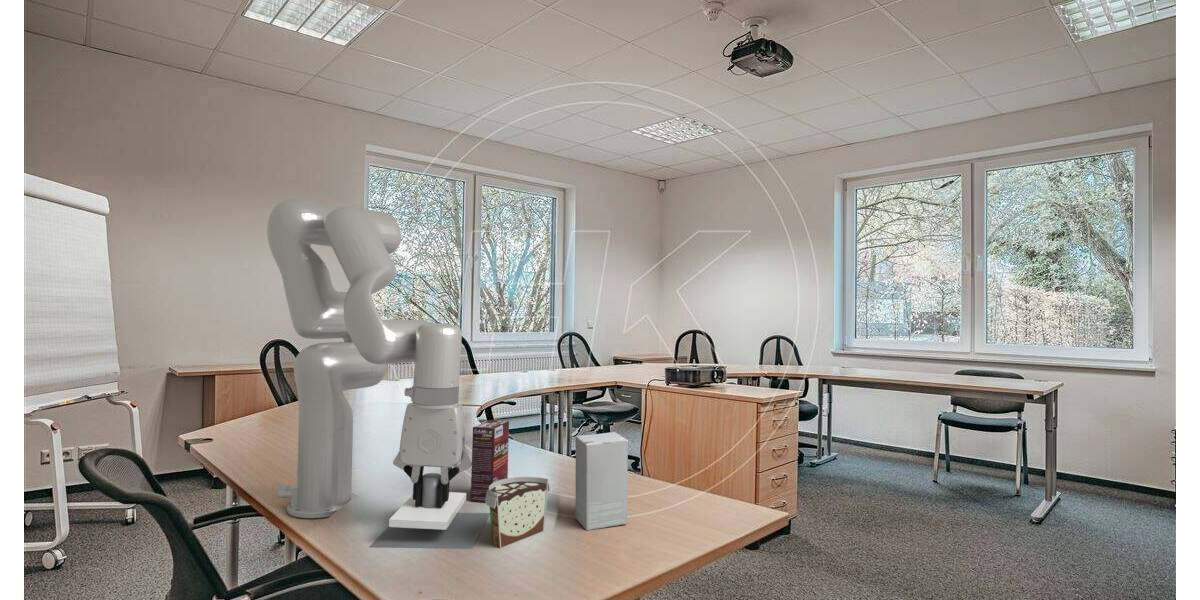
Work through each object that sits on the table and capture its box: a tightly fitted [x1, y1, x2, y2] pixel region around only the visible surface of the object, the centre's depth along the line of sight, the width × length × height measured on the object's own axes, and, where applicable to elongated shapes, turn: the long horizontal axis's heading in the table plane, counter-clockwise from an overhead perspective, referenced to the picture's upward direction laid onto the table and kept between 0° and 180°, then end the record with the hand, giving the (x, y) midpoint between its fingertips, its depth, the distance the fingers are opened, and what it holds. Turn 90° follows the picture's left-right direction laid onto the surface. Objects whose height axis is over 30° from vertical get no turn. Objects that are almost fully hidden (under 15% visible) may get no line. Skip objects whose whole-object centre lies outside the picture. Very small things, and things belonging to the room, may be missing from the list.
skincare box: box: [575, 431, 629, 531], centre depth 108 cm, size 8×7×16 cm
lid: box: [388, 472, 467, 530], centre depth 100 cm, size 9×14×6 cm, turn 0°
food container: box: [485, 476, 551, 549], centre depth 97 cm, size 12×6×10 cm, turn 141°
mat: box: [368, 512, 490, 550], centre depth 99 cm, size 16×16×2 cm
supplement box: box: [470, 419, 510, 504], centre depth 117 cm, size 9×5×16 cm, turn 168°
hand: (430, 503), depth 100 cm, fingers closed on lid, 3 cm apart
